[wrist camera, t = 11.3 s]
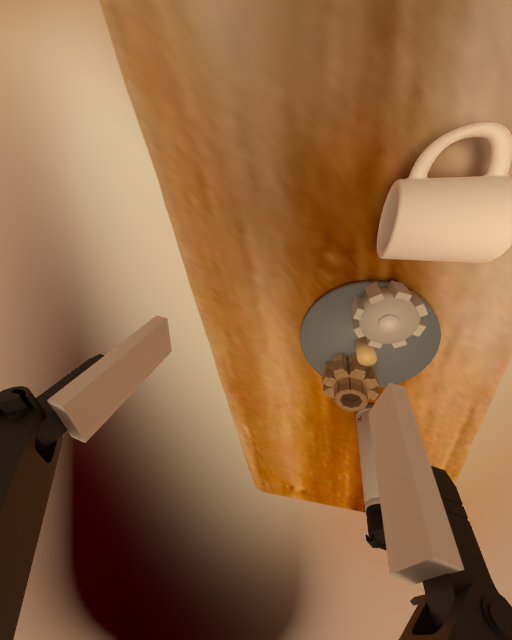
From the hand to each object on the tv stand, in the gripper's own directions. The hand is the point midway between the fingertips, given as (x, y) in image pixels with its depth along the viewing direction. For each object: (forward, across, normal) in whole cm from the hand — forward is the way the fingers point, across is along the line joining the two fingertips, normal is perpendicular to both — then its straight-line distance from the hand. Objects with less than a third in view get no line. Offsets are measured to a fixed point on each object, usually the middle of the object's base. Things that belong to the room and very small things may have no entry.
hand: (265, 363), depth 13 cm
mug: (+25, +12, +9) cm, 29 cm away
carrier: (+24, +12, -12) cm, 29 cm away
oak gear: (+22, +12, -18) cm, 31 cm away
